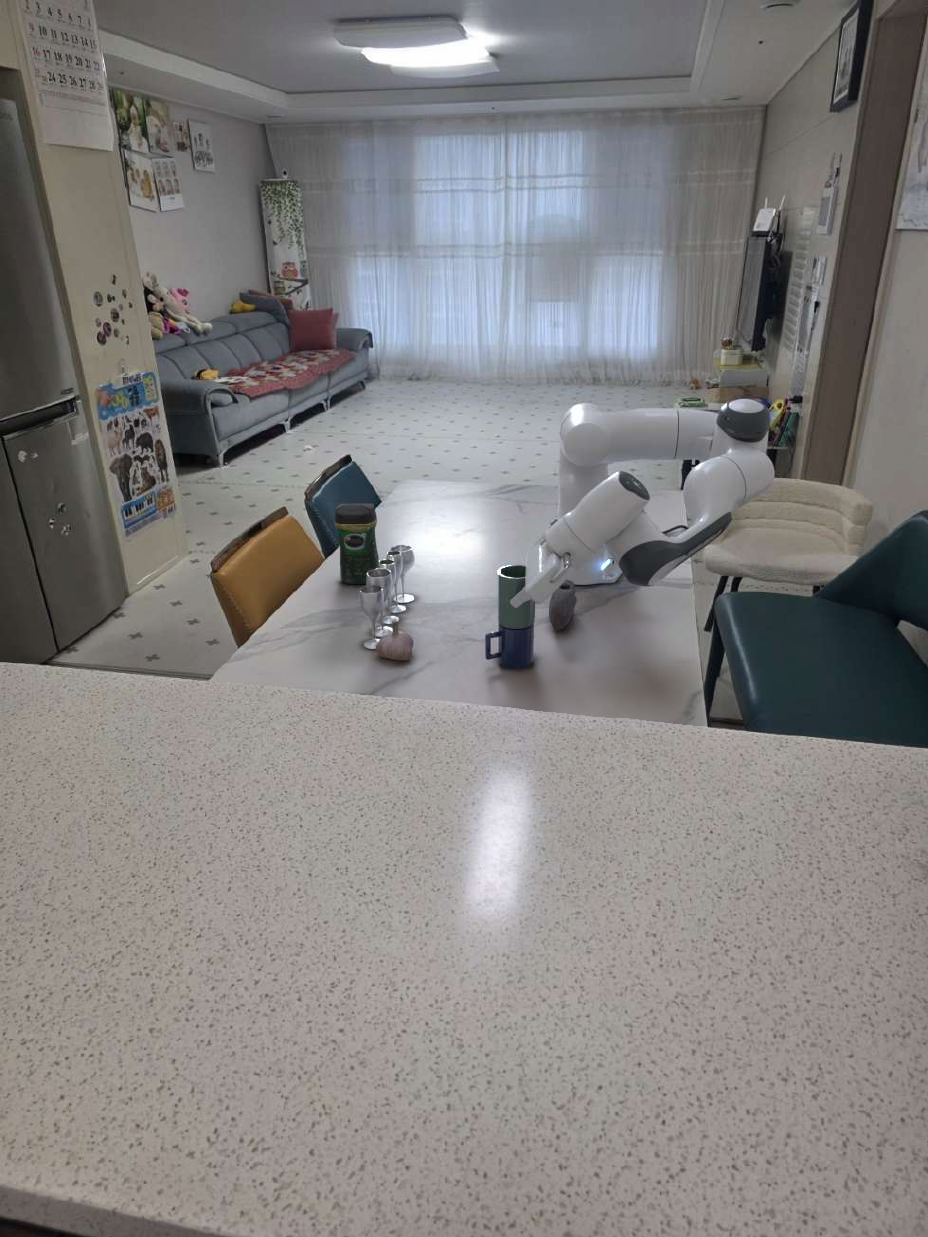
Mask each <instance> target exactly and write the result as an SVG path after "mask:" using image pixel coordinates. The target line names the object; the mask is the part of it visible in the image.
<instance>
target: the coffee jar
mask: <svg viewBox="0 0 928 1237" xmlns="http://www.w3.org/2000/svg"><path fill="white" fill-rule="evenodd" d="M335 508H336V509H335V512H334V526H335V528H336V530H337V534H338V539H339V540H338V541H339V578H340V581H341V582H342V583H343V584H348V585H364V584H365V585H367V583H366V580H367V573H368V572H369V571H371V570H374V569H378V566H379V561H380V557H379V551H378V546H377V539H376V527H377V524H378V516H377V512H376V507H375V505H374V503H371V502H370V503H339V504H338V505H337V506H336V507H335Z"/></svg>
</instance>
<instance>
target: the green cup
mask: <svg viewBox="0 0 928 1237" xmlns="http://www.w3.org/2000/svg"><path fill="white" fill-rule="evenodd" d="M525 574H526V564H508V565H503V566H502V567H501V566H500V567H499V568H498V570H497V574H496V575H497V624H498V623H499V624H500V625H501V626H503V627H506V628H510V629H522V628H527V627H530V626H531V625H533V624H534V625H535V619H536V603H535V602H534V601H533V600H532V599H530V600H528V601H526V602H524V603H522V604H521V605H520V606H519V607H517V608H515V607H514V606H513V605H512V604H510V599H511V597H512V596H513V595H514V594H516V593H519V592H520V591H521V590H522V589H523V588H524V587H525Z"/></svg>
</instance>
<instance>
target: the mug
mask: <svg viewBox="0 0 928 1237" xmlns="http://www.w3.org/2000/svg"><path fill="white" fill-rule="evenodd" d="M497 625H498V627H497V628H498V630H497V631H492V632H488V633H485V636H484V644H485V645H484V649H485V653H484V654H485V656H484V658H485V659H486V660H487V661H489V660H494V659H497V660H498V663H499V664H500V665H501V666H502V667H504V668H506V669H507V668H508V669H512V670H513V669H514V670H515V669H516V670H518V669H525V668H529V666H531V665H533V663H534V644H535V643H534V642H535V641H534V640H535V632H534V631H535V623H534V624H533V625H531V626H530V627H527V628H522V629H510V628H506V627H503V626H501V625H500V624H499V623H498V622H497ZM495 638H497V643H498V644H497V650H498V651H497V652H493V653H492V652H491V650H492V648H491V647H492V646H491V644H492V642H491V641H492V640H491V639H495Z"/></svg>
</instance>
